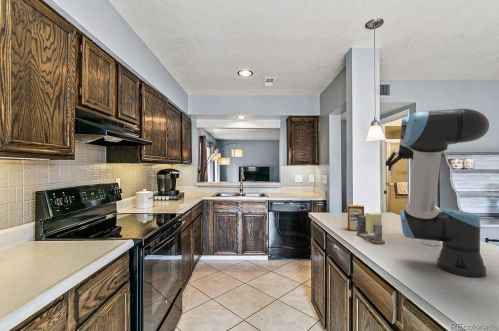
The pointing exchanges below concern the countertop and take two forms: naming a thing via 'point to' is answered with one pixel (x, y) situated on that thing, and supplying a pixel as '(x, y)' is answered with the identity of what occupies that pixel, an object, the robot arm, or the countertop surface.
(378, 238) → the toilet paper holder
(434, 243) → the milk
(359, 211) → the baking soda box
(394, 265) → the countertop surface
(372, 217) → the pale yellow block
